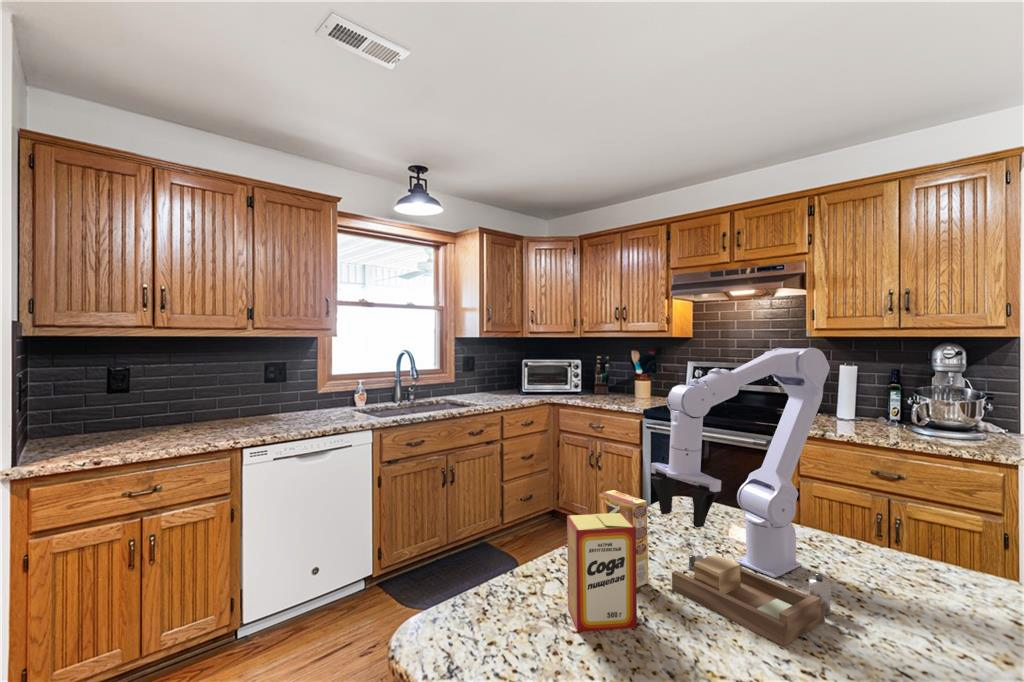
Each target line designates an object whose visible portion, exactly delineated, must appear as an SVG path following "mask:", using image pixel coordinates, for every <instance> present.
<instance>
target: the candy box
mask: <svg viewBox="0 0 1024 682" xmlns="http://www.w3.org/2000/svg"><path fill="white" fill-rule="evenodd" d="M598 496H599V514H608V513H622V514H623V515H624V516H625V517H626V518H627V519H628V520H629V521H630V522H631V523H632V524H633V525H634V526H635V527H636V589H637V588H641V586H644V585H645V586H646V584H649V581H650V580H649V546H648V545H649V543H648V542H649V541H648V540H649V539H648V537H649V535H648V501H647V500H644V499H641V498H639V497H636V496H634V495H633V496H632V495H630V494H627V493H623V492H620V491H618V490H614V489H613V490H607V491H604V492H600V493H599V494H598Z"/></svg>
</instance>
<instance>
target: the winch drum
mask: <svg viewBox="0 0 1024 682" xmlns="http://www.w3.org/2000/svg"><path fill="white" fill-rule="evenodd" d="M823 574H824V573H821V572H815V575H810V576H809V577H808V596H811V595H815V596H817V597H820V598H821V601H823V602H825V617H826V616H830V615H831V581H830V580H829V579H828V578H825V577H824V576H823Z"/></svg>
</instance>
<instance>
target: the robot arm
mask: <svg viewBox="0 0 1024 682" xmlns="http://www.w3.org/2000/svg"><path fill="white" fill-rule="evenodd" d="M830 369H831V367H830V364H829V362H828V360H827V357H826V354H824V352H823V351H821V350H820V349H819V348H816V347H807V348H787V347H786V348H785V347H775V348H773V349H772V350H767V351H765V352H764V353H763V354H762V355H760V356H757V357H756V358H754V359H752V360H750V361H748V362H747V363H744V364H742V365H740V366H738V367H736V368H734V369H733V370H728V369H725V368H721V369H720V368H718V367H716V368H713V369H710V373H709V374H707V375H704V376H701V377H700V378H693V379H691V380H690V381H689V383H688V385H687V384H678V385H675V386H673V387H672V388H671V390H670V391H669V393H668V396H667V397H665V403H666V407H667V408H668V409H669V411H670V412H669V413H670V433H669V435H670V436H669V452H668V454H669V455H668V458H669V459H668V464H666V463H661V462H652V463H651V466H650V473H651V474H654V475H652V476H651V477H650V482H651V484H652V485H653V488H654V490H655V493H656V495H657V499H658V504H659V510H660V514H661V515H668V514H671V513H672V508H673V497H674V496H673V495H674V491H675V487H676V483H677V481H681V482H683V483H687V484H690V485H694V486H697V487H694V488H690V490H689V491H690V494H691V499H692V506H693V514H692V515H693V516H692V517H693V518H692V521H693V522H692V523H693V528H697V529H699V528H702V527H704V526H705V524H706V520H707V516H708V514H709V511H710V509H711V508H712V506H713V503H714V502H715V500H716V499H717V497H718V496H719V494H720V492H721V491H722V480H720V479H717V478H714V477H712V476H710V475H708V474H705V473H703V472H702V471H701V465H702V463H701V462H702V448H703V447H702V445H703V443H702V442H703V429H704V428H703V425H704V424H703V423H704V422H703V421H704V417H705V416H706V415H707V414H708V413H709V411H710V410H711V408H712V407H714V406H716V405H718V404H721V403H722V402H725V401H726V400H729V399H732V398H734V397H735V396H737V395H738V393H739V390H740V387H742V386H743V387H744V386H745V385H748V384H749V383H753V382H755V381H758V380H761V379H763V378H766V377H768V376H770V375H771V376H772V377H773V378H774V379H775V381H776V382H777V383H778V384H779V386H781V387H782V389H783V390H784V391H785V392H786V394H787V396H788V400H787V402H786V404H785V407H784V409H783V412H782V415H781V417H780V420H779V422H778V424H777V428H776V429H775V432H774V434H773V437H772V439H771V443H770V445H769V447H768V449H767V452H766V454H765V457H764V459H763V463H762V464H761V467H760V468H758V469H755V470H754V471H752V472H750V473H749V474H748V477H747V479H746V480H745V482H744V483H742V484H741V486H740V487H739V489H738V491H737V494H736V501H737V504H738V506H739V507H740V508H741V509H742V510H743V516H745V556H743V557H741V558H739V559H736V563H738V564H740V566H741V565H742V566H744V567H747V568H749V569H752V570H753V571H756V572H758V573H761V574H763V575H765V576H766V575H767V576H769V577H771V578H775V579H776V578H779V577H780V576H782V575H784V574H787V573H789V572H790V571H793V570H795V569H798V568H799V567H801V566H802V564H801V562H799V561H797V533H796V529H795V527H794V525H793V524H792V521H793V520H794V518H795V516H796V512H797V498H798V496H799V492H798V490H797V487H796V486H795V485H794V482H793V481H792V478H793V475H794V473H795V470H796V467H797V465H798V462H799V460H800V457H801V455H802V452H803V449H804V447H805V445H806V442H807V439H808V436H809V434H810V431H811V429H812V426H813V423H814V422H815V418H816V416H817V413H818V411H819V409H820V406H821V403H822V400H823V396H824V395H823V394H824V384H825V382H826V380H827V377H828V375H829V372H830ZM773 488H774V489H773Z"/></svg>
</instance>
